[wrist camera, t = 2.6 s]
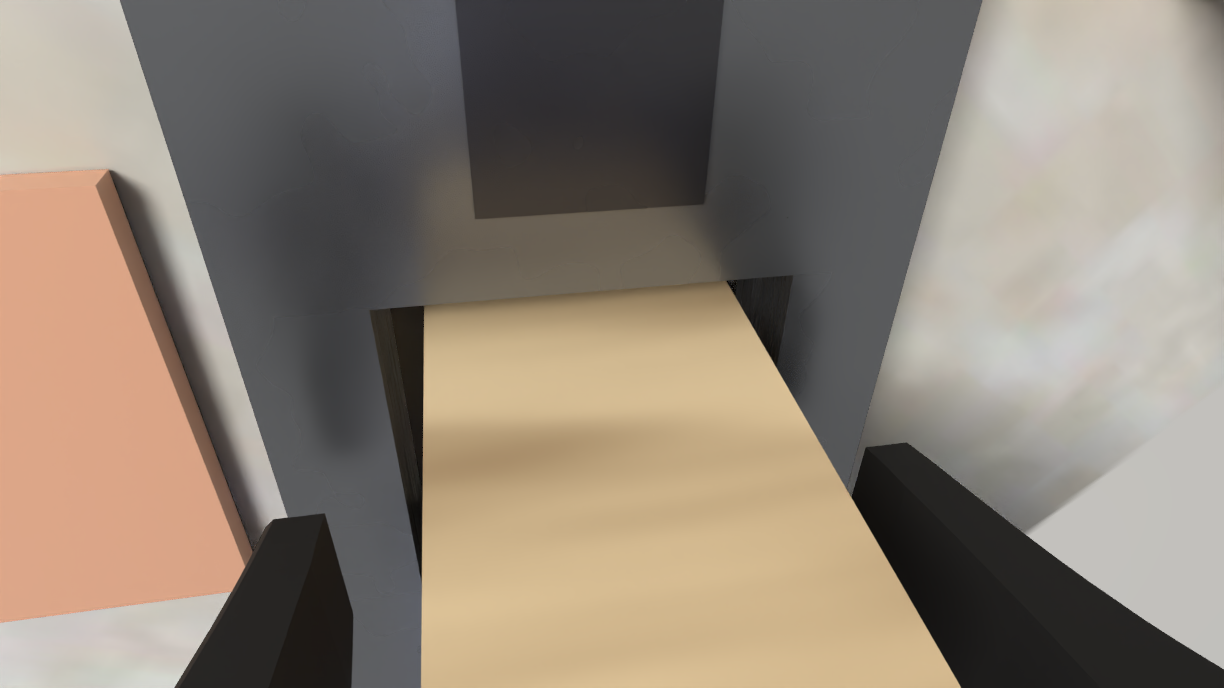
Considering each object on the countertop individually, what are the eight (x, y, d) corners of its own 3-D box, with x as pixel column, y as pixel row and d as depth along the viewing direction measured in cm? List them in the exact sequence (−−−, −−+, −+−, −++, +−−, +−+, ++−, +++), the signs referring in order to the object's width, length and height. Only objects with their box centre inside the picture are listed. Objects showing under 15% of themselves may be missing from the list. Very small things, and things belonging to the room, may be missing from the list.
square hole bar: (760, 614, 19) (791, 695, 17) (373, 673, 18) (367, 768, 16) (932, -190, 10) (1038, -182, 8) (128, -206, 8) (51, -198, 6)
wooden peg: (684, 446, 15) (867, 932, 9) (452, 472, 14) (471, 1023, 8) (705, 245, 13) (983, 727, 6) (424, 265, 12) (419, 833, 6)
